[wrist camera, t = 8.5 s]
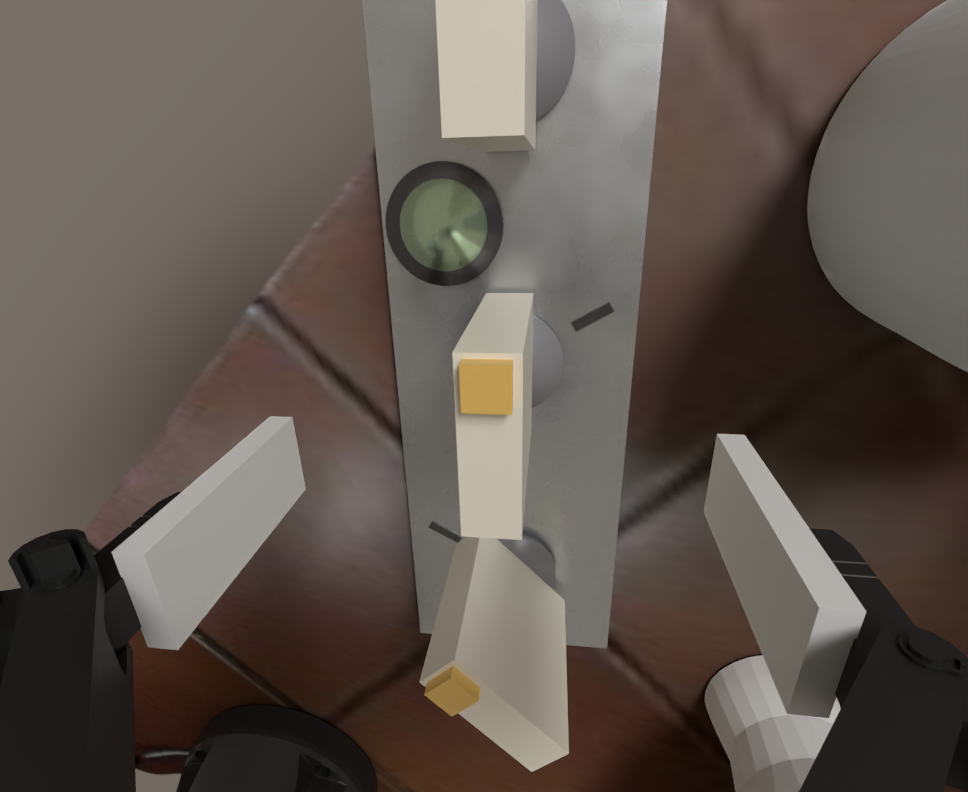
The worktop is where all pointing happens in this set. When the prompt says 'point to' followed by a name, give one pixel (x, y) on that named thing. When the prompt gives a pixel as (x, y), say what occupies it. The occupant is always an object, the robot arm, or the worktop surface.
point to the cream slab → (501, 69)
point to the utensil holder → (902, 187)
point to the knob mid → (500, 409)
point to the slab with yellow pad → (503, 648)
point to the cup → (762, 729)
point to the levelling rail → (520, 280)
